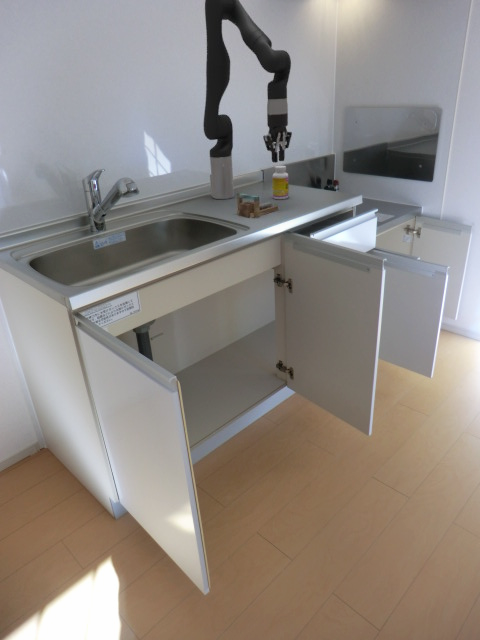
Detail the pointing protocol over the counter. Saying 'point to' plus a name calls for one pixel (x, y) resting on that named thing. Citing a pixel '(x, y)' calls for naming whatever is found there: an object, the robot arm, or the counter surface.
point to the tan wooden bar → (265, 205)
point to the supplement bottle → (280, 183)
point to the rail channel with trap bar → (256, 205)
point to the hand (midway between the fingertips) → (278, 161)
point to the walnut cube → (246, 208)
